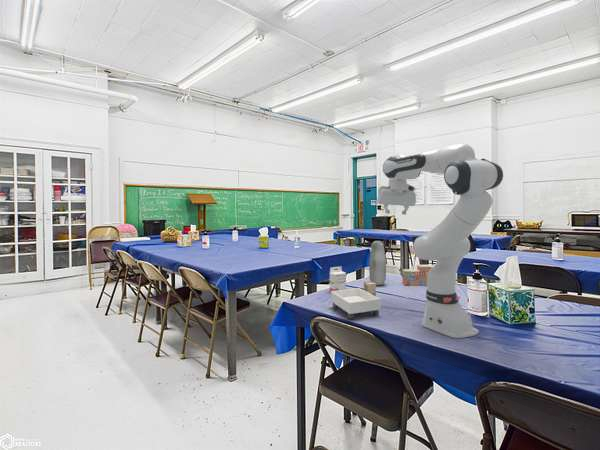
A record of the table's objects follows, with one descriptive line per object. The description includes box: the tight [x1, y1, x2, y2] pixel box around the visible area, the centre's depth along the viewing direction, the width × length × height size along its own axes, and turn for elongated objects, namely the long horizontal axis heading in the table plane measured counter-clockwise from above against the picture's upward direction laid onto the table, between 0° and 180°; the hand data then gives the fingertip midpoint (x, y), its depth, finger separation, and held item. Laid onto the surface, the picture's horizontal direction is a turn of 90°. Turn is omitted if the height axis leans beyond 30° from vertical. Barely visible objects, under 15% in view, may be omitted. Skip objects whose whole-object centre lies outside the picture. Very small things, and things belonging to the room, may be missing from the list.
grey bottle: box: [368, 240, 387, 286], centre depth 205 cm, size 10×10×28 cm
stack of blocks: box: [401, 264, 435, 287], centre depth 205 cm, size 21×6×12 cm, turn 84°
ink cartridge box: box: [329, 265, 347, 293], centre depth 191 cm, size 9×5×15 cm, turn 115°
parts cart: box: [330, 287, 382, 320], centre depth 158 cm, size 20×16×8 cm
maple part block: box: [363, 281, 377, 297], centre depth 173 cm, size 4×4×10 cm
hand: (395, 214), depth 168 cm, fingers open, 8 cm apart
